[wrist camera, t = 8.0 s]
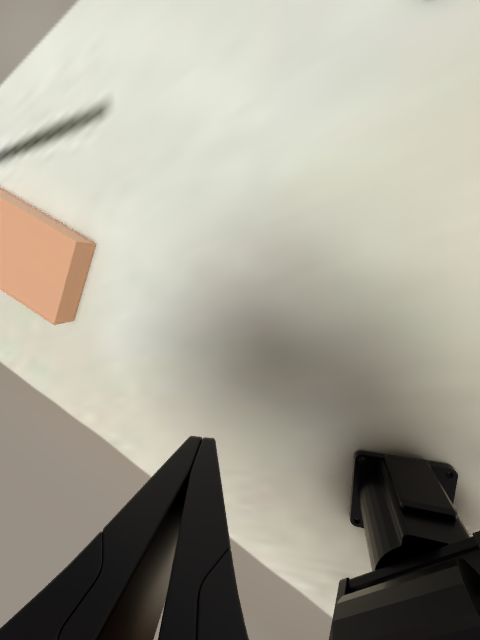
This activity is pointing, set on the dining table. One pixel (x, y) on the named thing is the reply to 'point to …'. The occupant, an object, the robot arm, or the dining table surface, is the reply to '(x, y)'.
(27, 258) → the glazed tile
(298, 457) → the dining table surface
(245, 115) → the dining table surface
